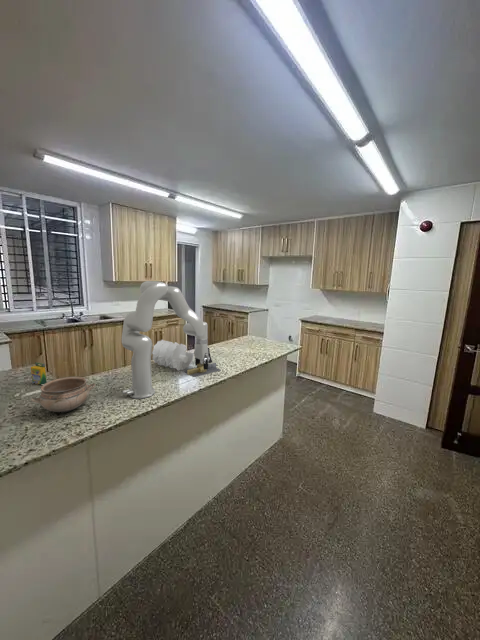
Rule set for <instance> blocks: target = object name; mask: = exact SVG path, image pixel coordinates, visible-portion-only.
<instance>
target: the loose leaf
mask: <svg viewBox="0 0 480 640" xmlns="http://www.w3.org/2000/svg"><path fill="white" fill-rule="evenodd" d="M186 371H187V373H186V374H187V375H188V376H190V374H194V373H198V372H200V373H203V372H206V371H207V369H205V370H204V369H203V365H200V363H198V364H197V365H196V367H194V368H190V369H187V370H186Z"/></svg>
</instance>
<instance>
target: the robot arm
mask: <svg viewBox="0 0 480 640" xmlns="http://www.w3.org/2000/svg"><path fill="white" fill-rule="evenodd" d="M139 291H140V293H141V294H140V295H139V297H138V300H137V303H136V308H135V311H130V312H128V313H127V314H126V316H125V317H124V319H123V325H122V333H121V344H122V347H123V348H124V349H125V350H128V351H131V352H132V357H131V360H130V361H131V362H130V363H131V364H130V365H131V383H132V384H131V385H130V388H126V389H124V390H123V389H122V394H123V395H125V394H126V395H128V396H129V397H130V398H132V399H137V400H141V399H146V398H150V397H153V396H154V395H155V394H156V389H155V387H153V384H152V382H153V381H152V380H153V379H152V375H153V374H152V354H151V353H152V351H153V341H152V339H151V338H150V337H149V336H148V335H146V334H143V333H145V332H146V333H147V332H149V331H150V330H151V329H152V327H153V320H154V310H155V306H156V304H157V303H158V301H163V302H164V301H165V302H169V304H170V307H171V308H172V310H173V312H174V313H175V315H176V316H177V317H179V318H180V319H182V320H184V321H185V322H186V324H184V325H183V327H182V329H183V330H182V331H183V333H184V334H185V335H187V336H192V337H193V336H194V337H195V344H194V350H193V353H194V356H193V357H194V359H195V360H194V361H195V366H197V364H198V363H200V360H203V361H204V363H203V369H204V370H205V369H208V364H210V363H209V360H210V357H209V356H208V348H209V345H208V344H209V342H208V339H209V338H208V336H209V335H208V328H209V327H208V323H207V322H206V321H203V320H202V319H201V317H200V316H199V315H198V314H197V313H196V312H195V311H194V310H193V309H192V308H191V307H190V305H188V302H187V300H186V298H185V296H184V294H183V292H182V291H181V289H180V288H179V287H177V286H172V285H171V286H170V285H167V284H166V283H165V282H163V281H159V280H158V281H153V280H146V281H143V282H142V283H141V284H140V287H139ZM140 332H142V333H140ZM204 358H205V359H204ZM205 360H206V361H205Z"/></svg>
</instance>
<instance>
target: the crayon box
mask: <svg viewBox="0 0 480 640" xmlns="http://www.w3.org/2000/svg"><path fill="white" fill-rule="evenodd" d="M34 364H35V365H34V366H30V373H31V381H32V384H33V383H37V384H36V385H38V384H45V383H47V382H48V381H47V380H48V379H47V373H46V363H42V362H35V363H34Z"/></svg>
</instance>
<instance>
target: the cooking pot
mask: <svg viewBox="0 0 480 640" xmlns="http://www.w3.org/2000/svg"><path fill="white" fill-rule="evenodd" d="M87 381H88V379H86V378H85V377H83V376H67V377H60V378H56V379H53V380H49V381H47V383H45V384H44V385H40V389H41V392H40V396H39V397H35V398H34V397H33V398H31V399H30V401H31V402H32V403H36V404H40V405H41V406H42V408H43V409H45V410H47V411H50V412H53V413H60V412H61V414H63V413H64V412H65V413H69V412H72V411H74V410H75V409H77V408H78V407H80V406H81V405H83V404H85V402H86V401H87V400H88V398H89V395H90V391H91V390H93V389H94V388H95V387H96V383H94V382H93V383H91V384H87Z"/></svg>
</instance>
